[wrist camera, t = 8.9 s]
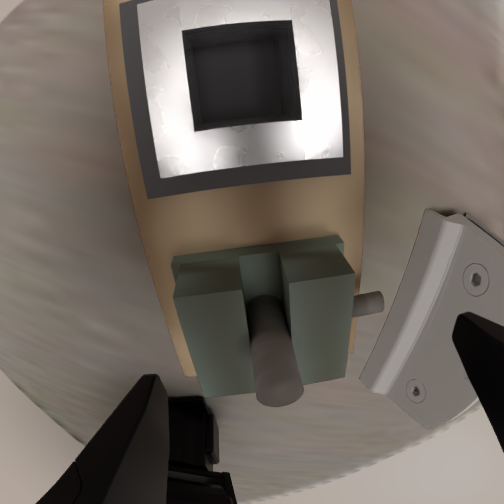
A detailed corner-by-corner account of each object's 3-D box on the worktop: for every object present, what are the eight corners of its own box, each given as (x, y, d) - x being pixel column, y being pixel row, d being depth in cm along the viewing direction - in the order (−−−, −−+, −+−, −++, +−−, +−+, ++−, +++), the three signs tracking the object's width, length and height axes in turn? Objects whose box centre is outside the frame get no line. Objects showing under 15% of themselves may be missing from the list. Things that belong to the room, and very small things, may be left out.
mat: (150, 195, 15) (147, 199, 15) (122, 6, 11) (119, 3, 10) (346, 171, 16) (351, 174, 15) (329, -15, 11) (333, -19, 11)
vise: (187, 357, 23) (179, 462, 15) (115, 5, 12) (33, -51, 4) (350, 334, 23) (393, 428, 15) (342, -17, 12) (425, -79, 4)
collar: (176, 157, 14) (160, 178, 11) (159, 27, 11) (137, 4, 8) (314, 141, 14) (343, 156, 11) (301, 12, 11) (327, -14, 8)
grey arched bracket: (426, 203, 19) (551, 276, 11) (457, 205, 21) (561, 266, 13) (357, 381, 26) (425, 458, 18) (391, 366, 28) (456, 432, 20)
